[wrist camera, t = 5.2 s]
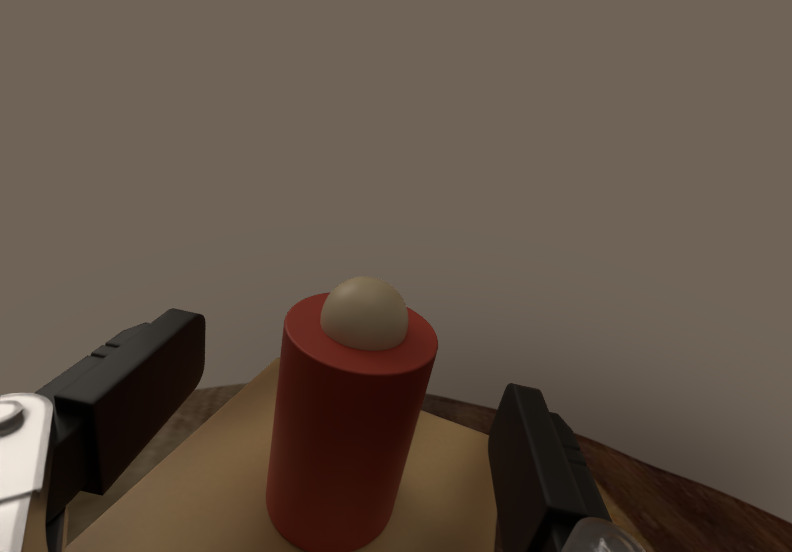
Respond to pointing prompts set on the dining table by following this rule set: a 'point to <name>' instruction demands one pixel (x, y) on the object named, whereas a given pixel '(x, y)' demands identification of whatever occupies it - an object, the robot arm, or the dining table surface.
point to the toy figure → (345, 413)
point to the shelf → (247, 479)
